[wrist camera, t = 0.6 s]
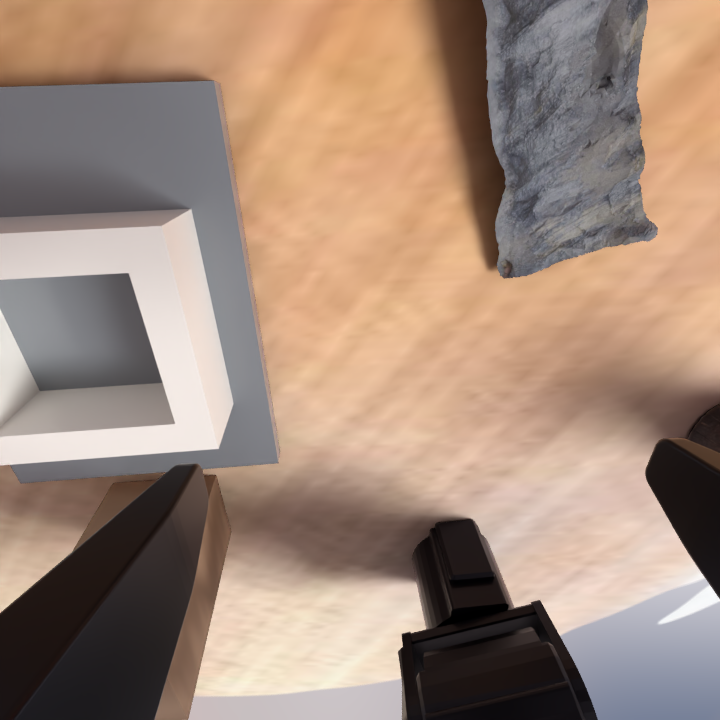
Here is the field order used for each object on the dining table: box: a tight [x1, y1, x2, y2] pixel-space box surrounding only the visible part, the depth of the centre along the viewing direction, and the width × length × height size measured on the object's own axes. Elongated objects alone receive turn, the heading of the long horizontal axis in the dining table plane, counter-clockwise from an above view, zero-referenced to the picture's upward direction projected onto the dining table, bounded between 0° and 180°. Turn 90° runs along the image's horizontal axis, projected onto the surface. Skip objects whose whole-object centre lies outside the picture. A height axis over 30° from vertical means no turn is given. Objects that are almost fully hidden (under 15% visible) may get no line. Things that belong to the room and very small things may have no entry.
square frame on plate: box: [0, 81, 280, 483], centre depth 18 cm, size 18×14×4 cm
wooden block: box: [72, 475, 231, 720], centre depth 22 cm, size 5×6×10 cm
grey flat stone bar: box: [482, 0, 658, 278], centre depth 14 cm, size 21×7×2 cm, turn 19°
